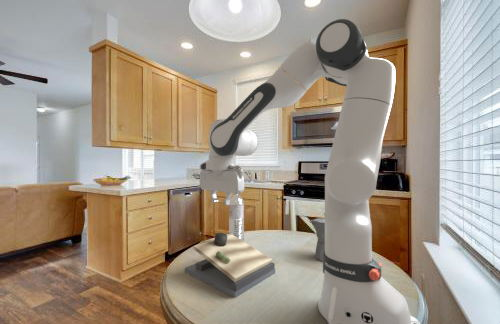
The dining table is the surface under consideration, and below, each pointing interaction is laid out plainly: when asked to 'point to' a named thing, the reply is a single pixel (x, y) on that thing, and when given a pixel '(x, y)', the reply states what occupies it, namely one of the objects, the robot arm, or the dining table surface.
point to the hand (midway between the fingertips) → (220, 203)
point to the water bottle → (236, 217)
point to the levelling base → (223, 282)
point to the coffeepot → (319, 237)
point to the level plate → (232, 256)
